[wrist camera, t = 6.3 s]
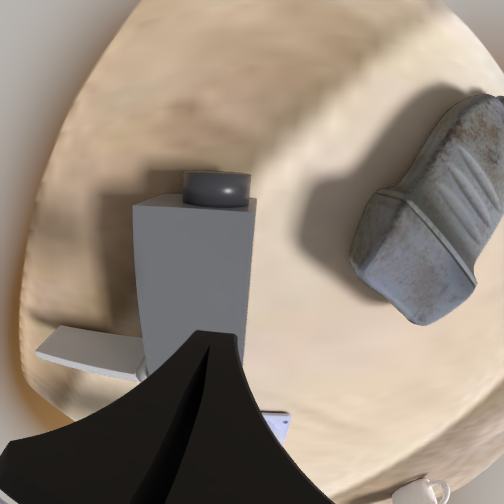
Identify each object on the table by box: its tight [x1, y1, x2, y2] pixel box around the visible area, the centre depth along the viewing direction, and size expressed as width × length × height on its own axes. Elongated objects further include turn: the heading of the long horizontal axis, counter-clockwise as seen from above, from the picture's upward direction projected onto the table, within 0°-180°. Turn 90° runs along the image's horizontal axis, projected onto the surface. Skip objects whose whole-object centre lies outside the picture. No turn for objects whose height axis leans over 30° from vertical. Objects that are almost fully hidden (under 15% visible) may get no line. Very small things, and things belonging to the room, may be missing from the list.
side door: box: [35, 325, 149, 382], centre depth 19 cm, size 11×1×5 cm, turn 90°
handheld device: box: [349, 94, 504, 326], centre depth 15 cm, size 10×20×5 cm, turn 144°
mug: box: [392, 478, 450, 504], centre depth 27 cm, size 12×8×10 cm
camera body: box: [132, 171, 257, 376], centre depth 16 cm, size 14×6×6 cm, turn 175°
